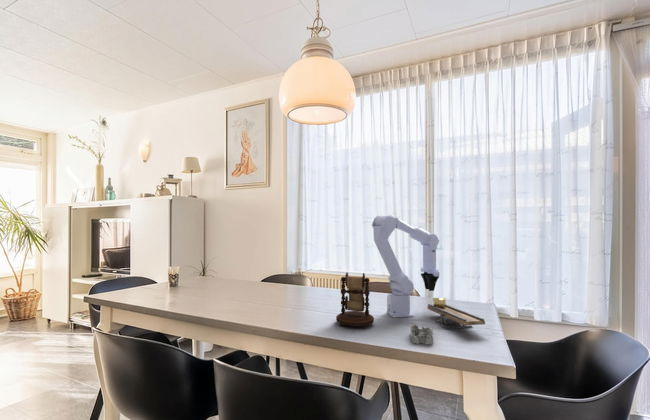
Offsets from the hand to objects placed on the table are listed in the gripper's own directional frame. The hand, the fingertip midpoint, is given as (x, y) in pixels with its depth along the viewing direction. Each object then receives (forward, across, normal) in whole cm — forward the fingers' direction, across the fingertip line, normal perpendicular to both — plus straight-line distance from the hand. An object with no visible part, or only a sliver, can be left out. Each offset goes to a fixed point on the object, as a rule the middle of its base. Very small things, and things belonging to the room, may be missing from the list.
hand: (429, 289), depth 146 cm
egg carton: (+10, -33, +19) cm, 39 cm away
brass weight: (+5, -9, 0) cm, 10 cm away
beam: (+6, -20, 0) cm, 21 cm away
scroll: (+10, -14, +38) cm, 42 cm away
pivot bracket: (+9, -20, 0) cm, 22 cm away
